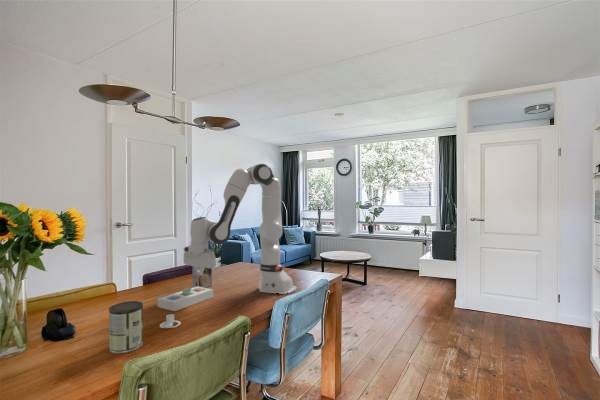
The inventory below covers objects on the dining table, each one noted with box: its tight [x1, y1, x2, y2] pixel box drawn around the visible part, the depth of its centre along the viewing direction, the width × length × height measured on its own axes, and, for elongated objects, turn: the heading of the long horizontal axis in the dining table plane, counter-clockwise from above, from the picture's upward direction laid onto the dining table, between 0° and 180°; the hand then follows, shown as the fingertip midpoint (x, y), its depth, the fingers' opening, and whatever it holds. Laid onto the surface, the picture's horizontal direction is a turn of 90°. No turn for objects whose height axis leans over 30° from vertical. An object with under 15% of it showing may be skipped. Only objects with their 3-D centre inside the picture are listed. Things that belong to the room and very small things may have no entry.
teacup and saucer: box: [159, 313, 182, 329], centre depth 126 cm, size 9×8×4 cm
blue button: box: [169, 296, 179, 300], centre depth 148 cm, size 4×4×3 cm
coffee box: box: [191, 266, 213, 288], centre depth 182 cm, size 9×6×16 cm
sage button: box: [181, 288, 191, 296], centre depth 155 cm, size 4×4×3 cm
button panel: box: [157, 286, 214, 312], centre depth 155 cm, size 24×12×4 cm, turn 150°
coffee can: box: [108, 300, 144, 354], centre depth 108 cm, size 10×10×14 cm
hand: (199, 274), depth 162 cm, fingers closed
